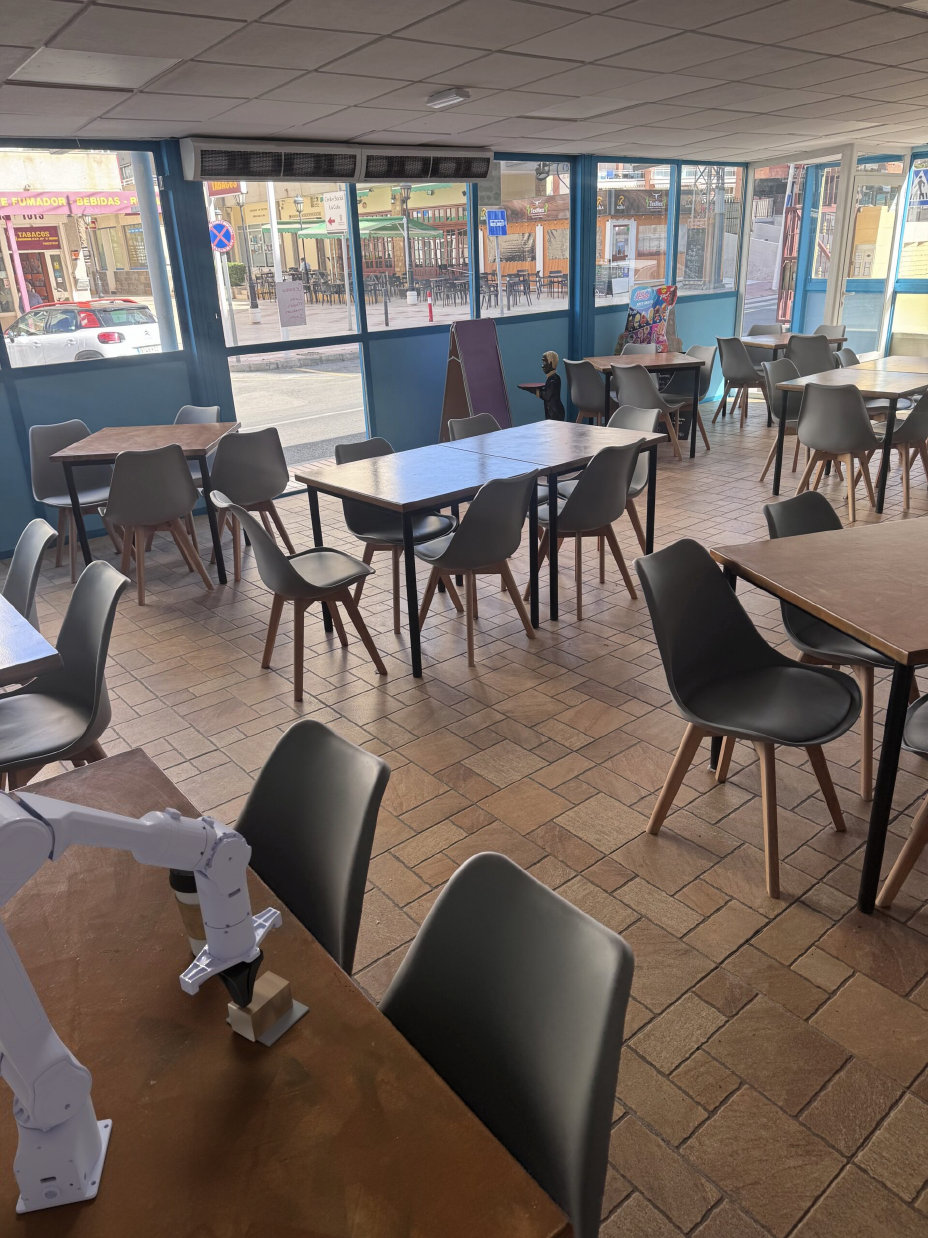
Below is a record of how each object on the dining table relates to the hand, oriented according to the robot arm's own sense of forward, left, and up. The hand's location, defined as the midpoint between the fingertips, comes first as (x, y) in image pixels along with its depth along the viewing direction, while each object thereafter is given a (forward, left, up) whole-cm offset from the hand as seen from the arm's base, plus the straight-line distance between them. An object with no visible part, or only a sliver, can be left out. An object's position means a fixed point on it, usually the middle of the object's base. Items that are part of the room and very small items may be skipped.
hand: (242, 1002), depth 110 cm
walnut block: (-1, +1, -3) cm, 3 cm away
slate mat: (+2, -2, -5) cm, 6 cm away
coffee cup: (+18, +6, -5) cm, 20 cm away
